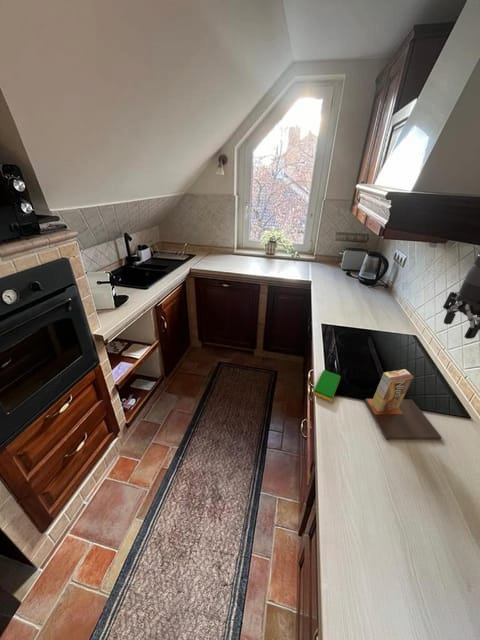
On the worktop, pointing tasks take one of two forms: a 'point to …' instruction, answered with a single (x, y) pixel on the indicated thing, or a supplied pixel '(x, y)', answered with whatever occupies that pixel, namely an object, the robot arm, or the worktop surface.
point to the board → (403, 422)
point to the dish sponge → (327, 385)
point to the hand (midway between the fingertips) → (457, 330)
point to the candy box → (391, 390)
